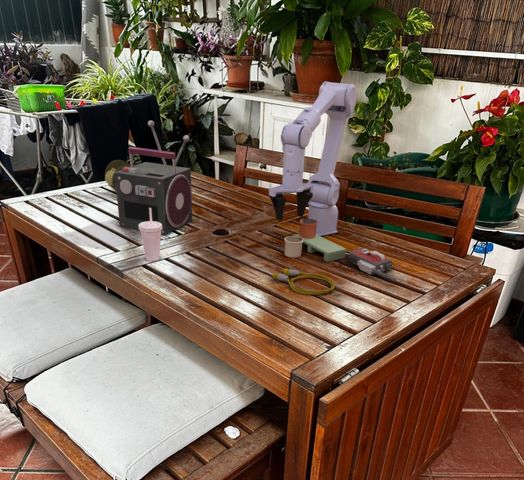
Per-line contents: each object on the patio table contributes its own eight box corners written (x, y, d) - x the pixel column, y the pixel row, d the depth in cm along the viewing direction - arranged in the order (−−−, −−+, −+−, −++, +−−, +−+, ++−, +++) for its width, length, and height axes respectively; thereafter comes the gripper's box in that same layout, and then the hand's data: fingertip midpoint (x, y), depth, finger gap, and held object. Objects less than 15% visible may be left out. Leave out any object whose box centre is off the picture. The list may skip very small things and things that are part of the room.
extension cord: (303, 268, 143) (303, 261, 142) (343, 288, 133) (344, 281, 132) (268, 278, 136) (269, 271, 135) (308, 300, 126) (309, 292, 125)
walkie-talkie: (338, 261, 149) (392, 286, 135) (340, 246, 146) (395, 270, 133) (359, 255, 153) (413, 279, 140) (361, 241, 151) (416, 263, 138)
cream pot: (294, 249, 155) (295, 234, 153) (305, 255, 151) (307, 240, 149) (279, 252, 152) (280, 237, 150) (290, 259, 149) (291, 243, 146)
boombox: (116, 227, 165) (105, 126, 149) (151, 210, 182) (145, 118, 166) (165, 236, 160) (159, 133, 144) (197, 218, 176) (194, 124, 161)
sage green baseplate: (309, 240, 163) (310, 231, 162) (345, 257, 151) (346, 248, 150) (291, 243, 160) (292, 234, 158) (327, 262, 148) (328, 252, 146)
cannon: (164, 185, 211) (162, 157, 205) (174, 193, 203) (173, 163, 197) (103, 191, 200) (99, 160, 194) (111, 199, 192) (107, 167, 186)
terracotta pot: (309, 232, 161) (310, 217, 159) (320, 237, 157) (321, 222, 155) (294, 234, 158) (296, 219, 156) (305, 240, 155) (307, 224, 152)
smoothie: (168, 256, 146) (165, 207, 139) (157, 264, 141) (153, 213, 134) (148, 252, 148) (144, 204, 140) (136, 260, 142) (132, 210, 135)
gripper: (280, 175, 138) (277, 225, 145) (322, 170, 145) (317, 218, 152) (265, 170, 142) (263, 218, 150) (306, 165, 150) (302, 211, 157)
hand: (289, 218), depth 151 cm, fingers open, 7 cm apart
